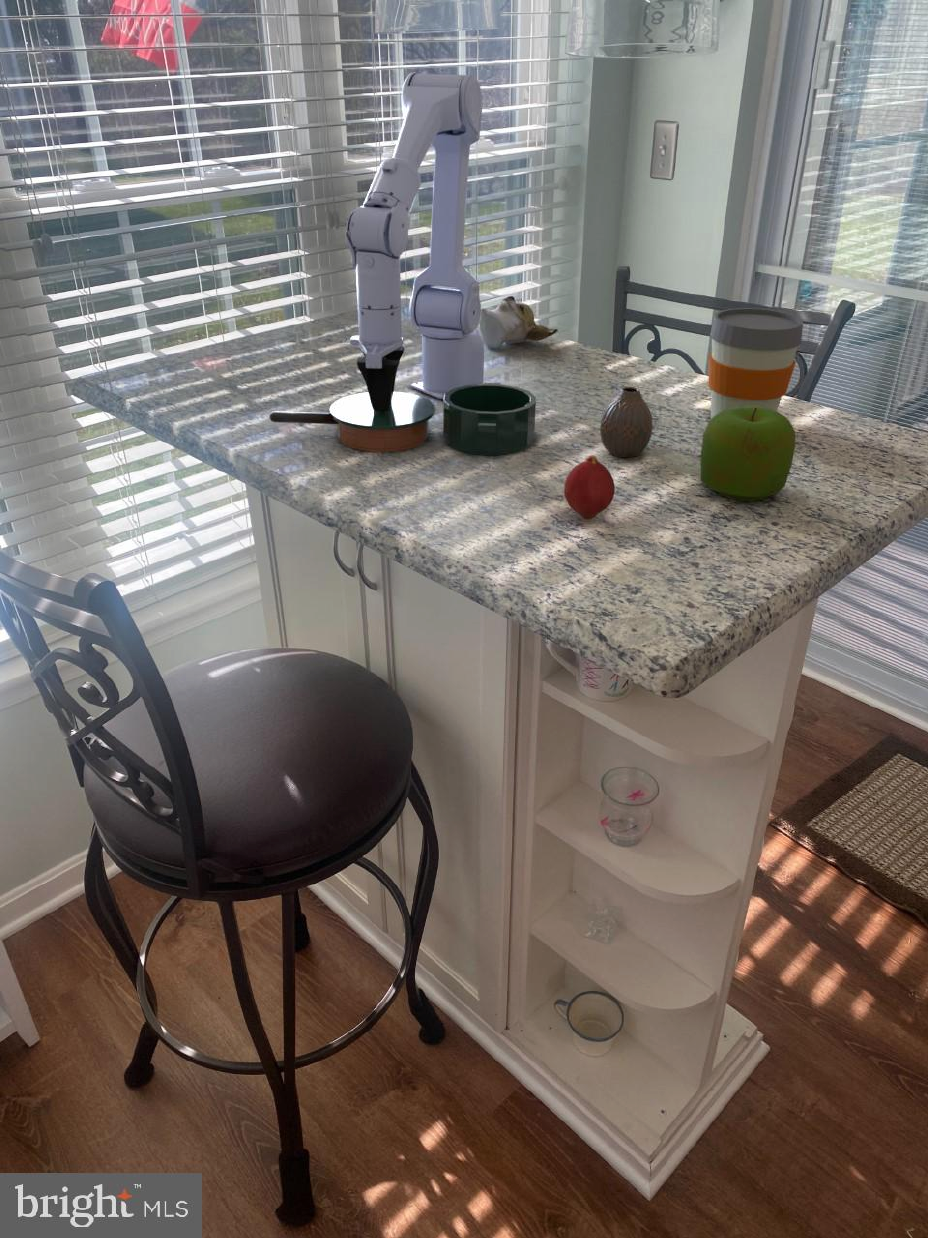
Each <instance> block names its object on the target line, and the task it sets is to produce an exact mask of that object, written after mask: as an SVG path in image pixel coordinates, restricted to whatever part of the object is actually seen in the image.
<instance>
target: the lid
mask: <svg viewBox="0 0 928 1238" xmlns="http://www.w3.org/2000/svg"><path fill="white" fill-rule="evenodd" d="M329 413H330V415H331V417H332V418H333V419H334V420H335V421H337V422H339V423H341V424H344V425H347V426H351V427H355V428H361V429H372V430H390V429H400V428H406V427H411V426H415V425H418V424H421V423H424V422H426V421H428V420H429V421H430V420H431V419H432V418H433V417H434V416H435V414H436V406H435V404H434V403H433V402H432V401H431V400H429V399H428V398H425V397H423V396H420V395H417V394H413V393H408V392H401V391H394V393H393V397H392V391H391V399H390V405H389V408H388V410H373V408H372V405H371V401H370V397H369V393H368V391H367V392H361V393H356V394H350V395H347V396H344V397H341V398H339V399H337V400H336V401H334V402H333V403H331V405H330V407H329ZM429 421H428V422H429Z"/></svg>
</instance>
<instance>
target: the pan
mask: <svg viewBox="0 0 928 1238" xmlns="http://www.w3.org/2000/svg"><path fill="white" fill-rule="evenodd" d="M429 421H430V419H429V420H428V421H426V422H424V423H421V424H418V425H415V426H411V427H406V428H400V429H390V430H372V429H361V428H355V427H351V426H347V425H344V424H341V423H339V422H337V424H336V426H337V435H338V439H339V441H340V443H342V444H343V445H345V446H347V447H348V448H352V449H355V450H360V451H365V452H375V453H385V452H386V453H387V452H388V453H389V452H399V451H405V450H409V449H413V448H415V447H418V446H420V445H422V444H423V443H425V442H426V441H427V440H428V438H429V432H430V431H429V430H430V429H429V426H430V425H429Z"/></svg>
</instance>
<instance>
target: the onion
mask: <svg viewBox="0 0 928 1238" xmlns="http://www.w3.org/2000/svg"><path fill="white" fill-rule="evenodd" d="M563 486H564V487H563V493H564V498H565V500H566V502H567V505H568V506H569V507H570V508H571V509H572V510H573V511H575V512H576V513H577V514H578V515H579V516H580V517H581V518H582V519H584V520H591V519H593V518H594V517H596V516H597V515H599V514H600V513H602V512H604V511H605V510H606V509H607V508H608V506H610V505H611V503H612V501H613V499H614V495H615V492H616V489H615V488H616V487H615V481H614V478H613V477H612V474H611V472H610V470H609V469H608V468H607V467H606V466H605V465H604V464H602V463H601V462H599V461H598V458H597V456H596V455H594V454H590V455H589V456H588V457H587V458H586V459H585V460H584V461H582V462H580V463H578V464H577V465H576V466H574V467H573V468H572V470H570V472H569V473H568V475H567V477H566V479H565V482H564V485H563Z"/></svg>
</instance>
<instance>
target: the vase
mask: <svg viewBox="0 0 928 1238" xmlns="http://www.w3.org/2000/svg"><path fill="white" fill-rule="evenodd" d="M653 424H654V423H653V417H652V412H651V410H650V408H649V406H648V404H647V403H646V401H645V400H644V398H643V396H642V394H641V390H640V389H639V388H637V387H634V386H624V387H622V388H621V389H620V390H619V392H618V394H617V395H616V396H615V397H614V398H613V399H612V400H611V401H610V403H609V404H608V405H607V406H606V408H605V409H604V411H603V414H602V417H601V420H600V438H601V441H602V445H603V446H604V448H605V449H606V451H607V452H608V453H610V455H612V456H615V457H619V458H633V457H636V456H638V455H639V454H641V453H642V452H643V451H644V450H645V449H646V448H647V446H648V445H649V443H650V440H651V438H652V433H653V426H654V425H653Z"/></svg>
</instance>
